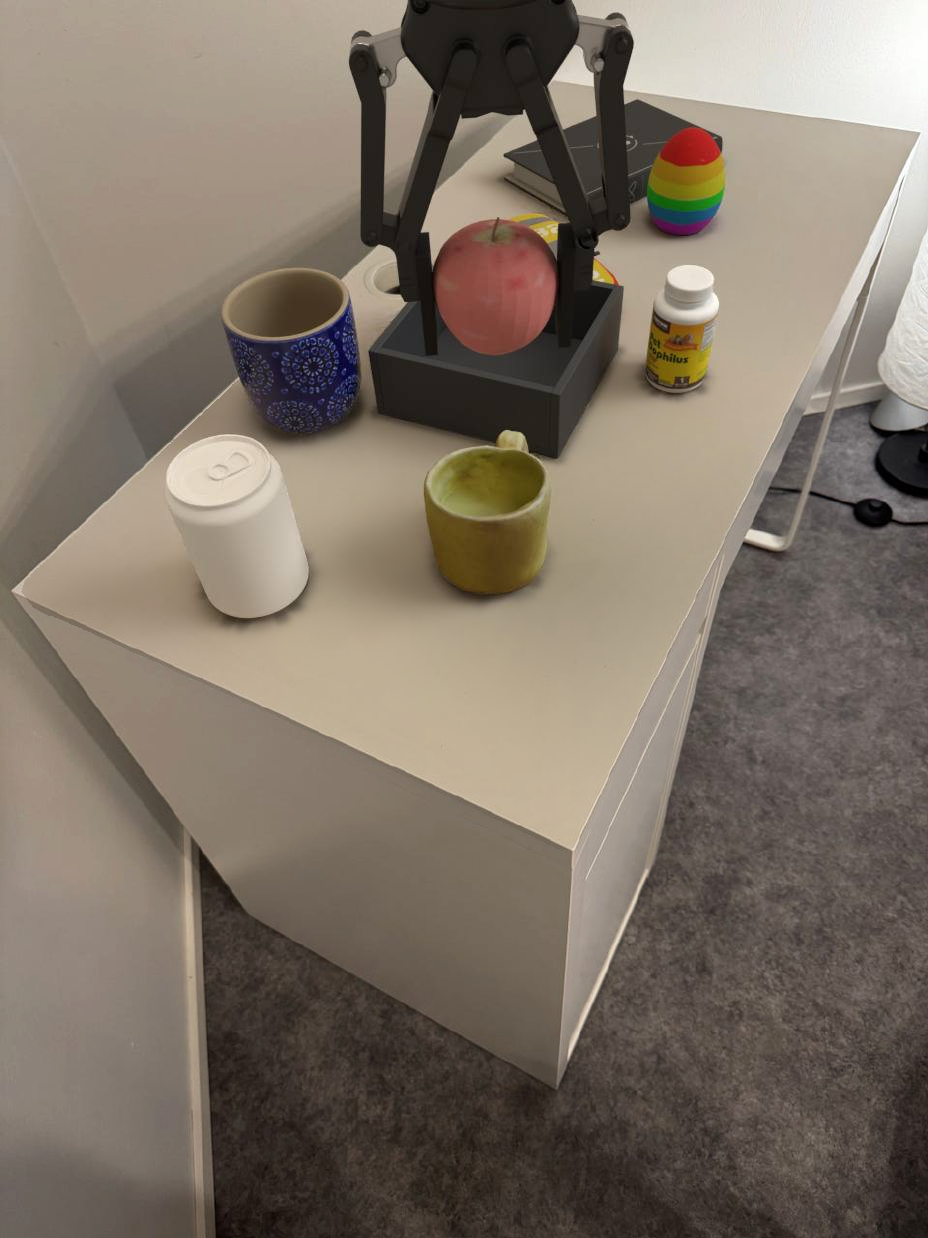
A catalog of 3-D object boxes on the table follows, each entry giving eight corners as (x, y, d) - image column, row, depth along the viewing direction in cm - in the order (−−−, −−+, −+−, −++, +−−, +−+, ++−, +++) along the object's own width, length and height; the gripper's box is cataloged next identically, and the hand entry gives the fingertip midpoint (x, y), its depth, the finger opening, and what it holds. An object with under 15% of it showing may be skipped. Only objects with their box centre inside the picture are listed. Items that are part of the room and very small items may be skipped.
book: (584, 226, 101) (586, 199, 99) (503, 178, 109) (502, 153, 106) (720, 163, 108) (725, 137, 106) (635, 123, 116) (637, 98, 114)
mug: (530, 621, 64) (502, 496, 59) (417, 603, 70) (382, 488, 65) (603, 536, 72) (584, 419, 67) (495, 527, 78) (470, 418, 73)
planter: (272, 369, 88) (243, 263, 79) (380, 376, 86) (364, 268, 77) (235, 443, 81) (200, 336, 72) (352, 453, 79) (330, 344, 71)
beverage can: (188, 582, 71) (136, 469, 62) (272, 529, 74) (235, 414, 65) (244, 641, 67) (198, 529, 58) (331, 582, 70) (300, 467, 61)
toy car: (562, 336, 88) (564, 291, 85) (484, 255, 98) (482, 211, 94) (630, 313, 90) (634, 268, 86) (546, 236, 100) (547, 192, 96)
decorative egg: (699, 199, 103) (713, 106, 96) (730, 233, 98) (748, 138, 91) (632, 211, 102) (641, 119, 95) (660, 247, 97) (672, 153, 90)
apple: (478, 297, 60) (474, 176, 53) (576, 329, 57) (583, 205, 51) (414, 356, 56) (401, 233, 50) (515, 393, 53) (514, 268, 47)
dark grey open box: (618, 349, 87) (624, 285, 81) (557, 458, 78) (560, 394, 72) (452, 314, 92) (447, 252, 86) (377, 413, 83) (367, 350, 77)
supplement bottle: (632, 381, 84) (643, 280, 76) (665, 352, 86) (679, 251, 78) (684, 404, 81) (701, 303, 73) (716, 373, 84) (736, 272, 76)
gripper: (708, -164, 40) (650, 294, 58) (257, -131, 41) (338, 313, 59) (745, -117, 36) (670, 364, 54) (236, -80, 36) (331, 385, 54)
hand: (497, 337), depth 56 cm, fingers closed on apple, 7 cm apart
